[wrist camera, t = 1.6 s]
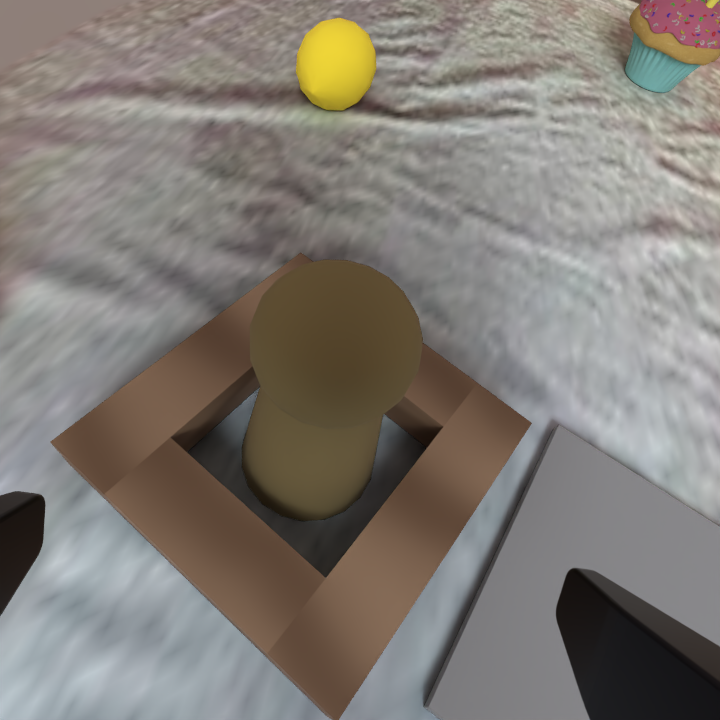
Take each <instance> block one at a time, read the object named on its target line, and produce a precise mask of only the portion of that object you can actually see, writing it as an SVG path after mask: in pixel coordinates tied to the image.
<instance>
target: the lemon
mask: <svg viewBox="0 0 720 720" xmlns="http://www.w3.org/2000/svg"><path fill="white" fill-rule="evenodd" d="M375 71H376V53H375V49H374V47H373V45H372V42H371V40H370V37H369V34H368V33H366V32H365V31H364V30H363V29H361V28H360V27H359V26H358V25H357V24H356V23H355V22H352V21H349V20H345V19H342V18H336V19H331V20H326V21H322V22H320V23H319V24H318V25H316V26H315V27H314V28H313V29H312V30H310V31H309V32H308V33H307V34H306V35H305V37H304V39H303V42H302V44H301V46H300V49H299V51H298V53H297V65H296V74H297V76H298V79H299V84H300V89H301V90H302V91H303V93H304V94H305V95H306V96H307V97H308V99H309V100H310V101H311V102H312V103H313V104H315V105H317V106H319V107H321V108H323V109H326V110H344V109H346V108H348V107H350V106H352V105H354V104H356V103H357V102H358V101H359V100H360V99H361V98H362V97H363V95H364V94H365V93H366V92H367V90H368V89H369V88H370V86H371V83H372V80H373V77H374V74H375Z"/></svg>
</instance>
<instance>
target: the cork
mask: <svg viewBox="0 0 720 720" xmlns="http://www.w3.org/2000/svg"><path fill="white" fill-rule="evenodd" d="M422 342H423V337H422V333H421V328H420V323H419V318H418V316H417V314H416V312H415V310H414V308H413V307H412V305H411V303H410V302H409V300H408V298H407V297H406V295H405V293H404V292H403V291H402V290H401V289H400V288H399V287H398V286H397V285H396V284H395V283H394V282H393V281H392V280H391V279H390V278H389V277H387V276H385V275H384V274H382V273H380V272H378V271H376V270H374V269H373V268H371V267H369V266H366V265H362V264H359V263H355V262H351V261H348V260H320V261H316V262H311V263H306V264H303V265H301V266H299V267H297V268H295V269H294V270H292V271H290V272H288V273H286V274H284V275H283V276H281V277H280V278H278V279H277V280H276V281H275V282H274V283H273V284H272V286H271V287H270V288H269V289H268V290H267V291H266V292H265V293H264V294H263V295H262V297H261V300H260V302H259V304H258V307H257V309H256V312H255V314H254V317H253V319H252V322H251V324H250V361H251V363H252V366H253V369H254V371H255V374H256V376H257V379H258V381H259V384H260V389H259V392H258V395H257V399H256V402H255V405H254V408H253V412H252V415H251V418H250V422H249V425H248V428H247V431H246V435H245V438H244V441H243V445H242V469H243V472H244V475H245V478H246V481H247V484H248V487H249V488H250V489H251V491H252V492H253V493H254V494H255V496H256V497H257V498H258V499H259V501H260V502H261V503H262V504H263V505H265V506H266V507H268V508H269V509H271V510H272V511H274V512H276V513H277V514H279V515H280V516H284V517H288V518H292V519H296V520H299V521H312V520H325V519H327V518H330V517H332V516H334V515H337V514H339V513H342V512H344V511H346V510H347V509H348V508H349V507H350V506H351V505H352V504H354V503H355V502H356V501H357V500H358V499H359V498H360V497H361V496H362V494H363V492H364V490H365V489H366V487H367V485H368V483H369V482H370V480H371V475H372V470H373V464H374V459H375V454H376V449H377V444H378V438H379V433H380V428H381V423H382V417H383V414H385V413H386V412H387V411H388V410H390V409H391V408H392V407H393V406H395V405H396V404H397V403H398V402H400V401H401V400H402V398H403V397H404V395H405V393H406V392H407V390H408V388H409V387H410V385H411V383H412V382H413V380H414V378H415V376H416V375H417V373H418V371H419V365H420V359H421V352H422Z"/></svg>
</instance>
